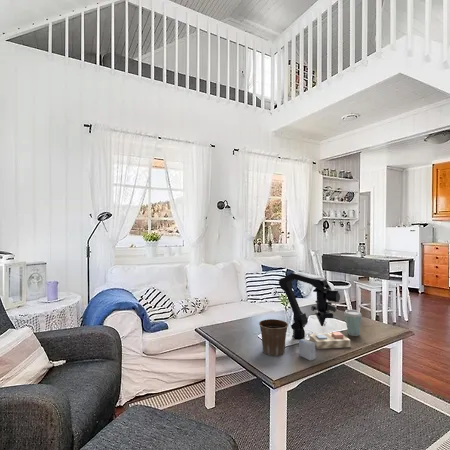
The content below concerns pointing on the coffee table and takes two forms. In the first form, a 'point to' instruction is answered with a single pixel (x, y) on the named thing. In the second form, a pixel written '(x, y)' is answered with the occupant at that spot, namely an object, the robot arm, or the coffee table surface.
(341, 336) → the terracotta key
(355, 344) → the coffee table surface
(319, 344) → the key console
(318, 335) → the blue grey key
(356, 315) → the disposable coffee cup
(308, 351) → the medicine box
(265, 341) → the plant pot
